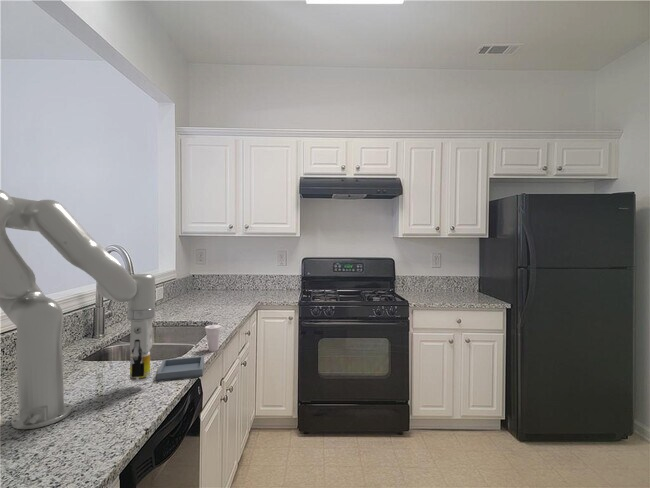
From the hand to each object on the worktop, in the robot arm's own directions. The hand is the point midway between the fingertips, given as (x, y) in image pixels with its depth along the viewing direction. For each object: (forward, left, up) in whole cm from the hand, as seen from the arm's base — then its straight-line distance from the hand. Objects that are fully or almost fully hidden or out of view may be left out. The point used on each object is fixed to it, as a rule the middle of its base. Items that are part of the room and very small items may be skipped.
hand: (140, 372), depth 118 cm
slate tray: (+12, -11, -5) cm, 17 cm away
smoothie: (+34, -21, -5) cm, 40 cm away
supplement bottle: (0, 0, -2) cm, 2 cm away
